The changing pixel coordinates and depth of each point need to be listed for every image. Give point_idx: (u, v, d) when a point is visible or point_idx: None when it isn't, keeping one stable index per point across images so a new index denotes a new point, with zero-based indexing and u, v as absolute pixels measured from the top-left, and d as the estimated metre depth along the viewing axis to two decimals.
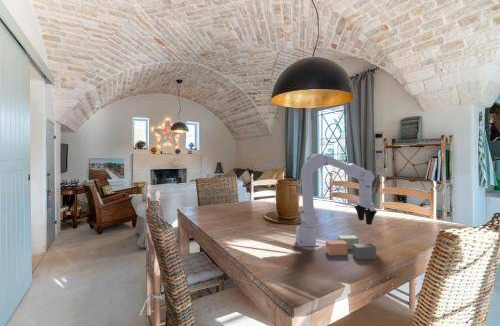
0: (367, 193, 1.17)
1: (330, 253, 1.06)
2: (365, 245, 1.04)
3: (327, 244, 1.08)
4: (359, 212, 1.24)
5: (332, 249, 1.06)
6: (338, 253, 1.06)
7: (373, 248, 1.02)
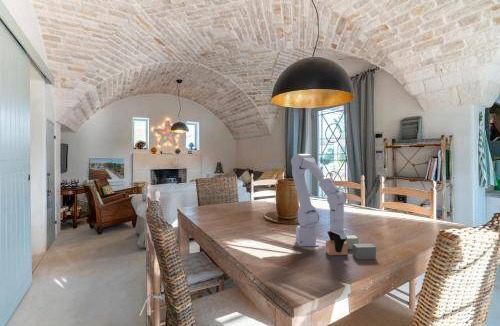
0: (332, 217, 1.06)
1: (330, 253, 1.06)
2: (365, 245, 1.04)
3: (327, 244, 1.08)
4: (332, 239, 1.10)
5: (332, 248, 1.06)
6: (338, 253, 1.06)
7: (373, 248, 1.02)
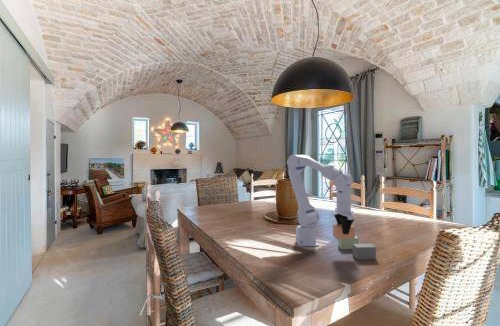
0: (339, 199, 1.04)
1: (337, 236, 1.04)
2: (365, 245, 1.04)
3: (334, 228, 1.06)
4: (339, 222, 1.08)
5: (339, 232, 1.04)
6: (345, 236, 1.04)
7: (373, 248, 1.02)
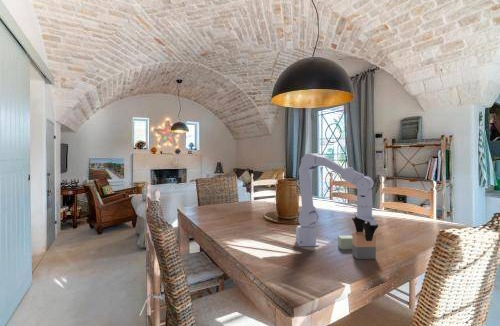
0: (361, 204, 1.01)
1: (358, 245, 1.01)
2: None
3: (354, 235, 1.03)
4: (357, 225, 1.07)
5: (359, 240, 1.01)
6: (366, 245, 1.02)
7: (373, 248, 1.02)
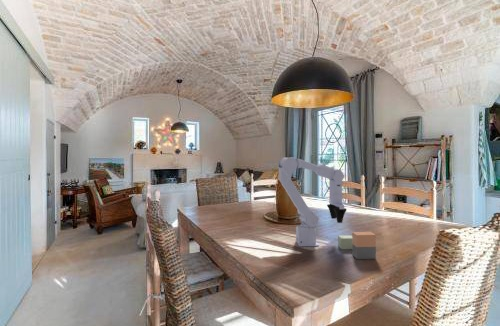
0: (338, 192, 1.19)
1: (358, 245, 1.01)
2: None
3: (354, 235, 1.03)
4: (331, 210, 1.26)
5: (359, 240, 1.01)
6: (366, 245, 1.02)
7: (373, 248, 1.02)
